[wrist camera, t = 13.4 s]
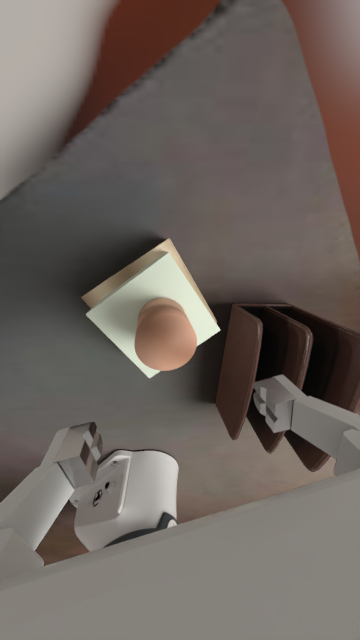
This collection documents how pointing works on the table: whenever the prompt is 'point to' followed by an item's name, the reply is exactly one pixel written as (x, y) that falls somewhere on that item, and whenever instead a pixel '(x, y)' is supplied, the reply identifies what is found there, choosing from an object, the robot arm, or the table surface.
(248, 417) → the letter holder
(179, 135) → the table surface
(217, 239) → the table surface
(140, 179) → the table surface
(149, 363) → the tan rounded cylinder
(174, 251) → the maple base block
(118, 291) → the sage top block
